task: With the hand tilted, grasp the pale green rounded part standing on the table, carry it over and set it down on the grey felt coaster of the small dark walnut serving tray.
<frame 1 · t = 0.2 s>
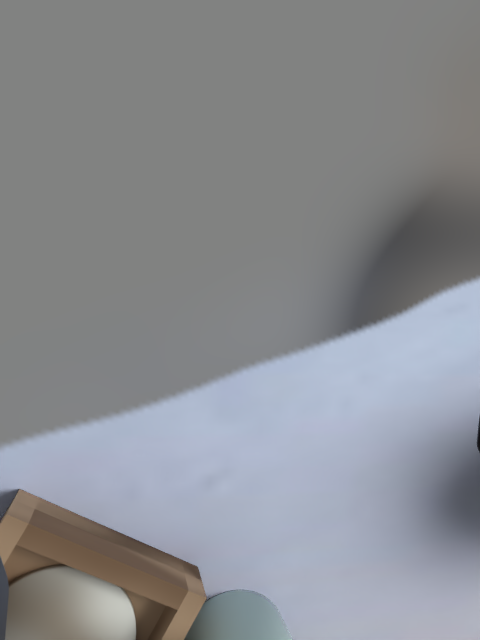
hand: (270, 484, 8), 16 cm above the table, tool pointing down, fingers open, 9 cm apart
tray: (60, 621, 23), on the table
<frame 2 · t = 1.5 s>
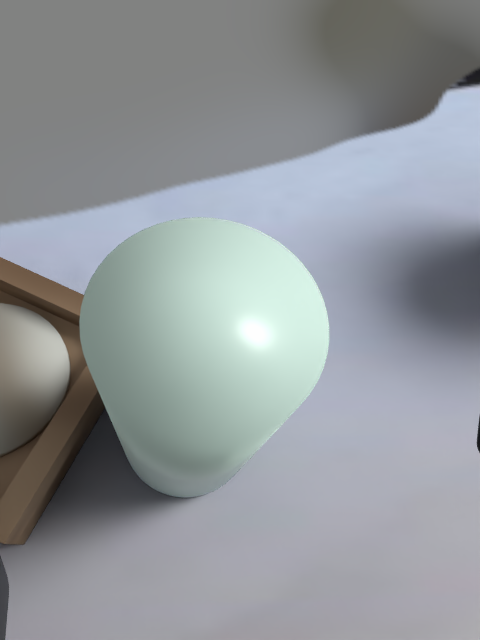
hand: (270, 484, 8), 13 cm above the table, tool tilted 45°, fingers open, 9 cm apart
pale green rounded part: (187, 430, 22), on the table
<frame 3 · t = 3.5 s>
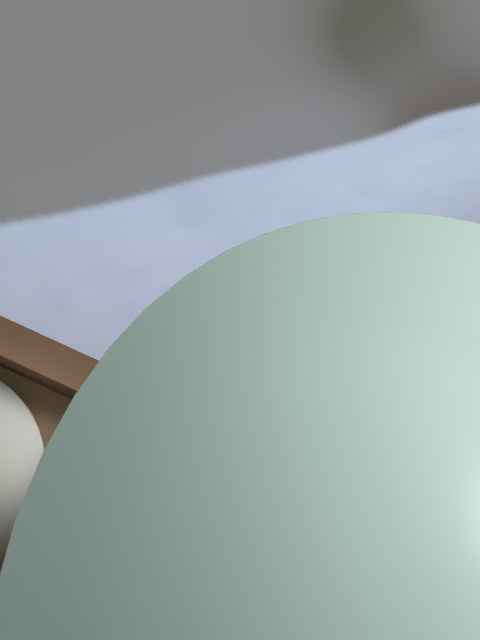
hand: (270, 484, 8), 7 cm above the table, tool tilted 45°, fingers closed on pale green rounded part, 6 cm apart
pale green rounded part: (238, 563, 13), on the table, touching gripper
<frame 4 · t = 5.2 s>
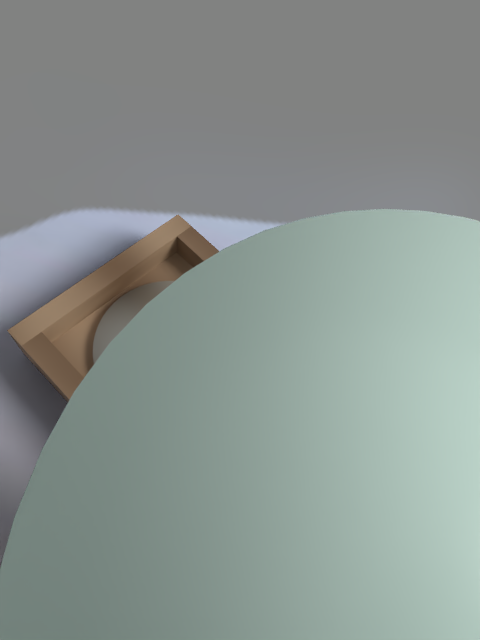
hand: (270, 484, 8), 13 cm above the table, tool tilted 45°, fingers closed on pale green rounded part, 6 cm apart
tray: (171, 358, 23), on the table
pale green rounded part: (238, 562, 13), point 7 cm above the table, touching gripper
when the fingers open (9 cm above the table, at t = 7.4 s): pale green rounded part drops 1 cm, resting on tray.
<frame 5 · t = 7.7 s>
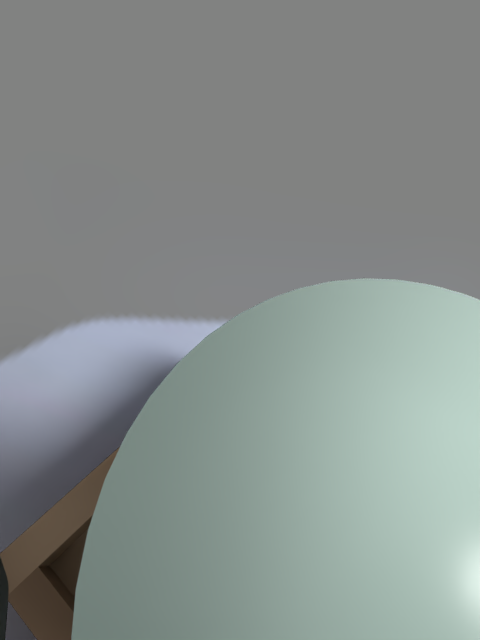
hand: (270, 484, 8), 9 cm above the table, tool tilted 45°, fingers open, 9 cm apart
tray: (228, 560, 16), on the table
pale green rounded part: (235, 563, 14), point 2 cm above the table, touching tray
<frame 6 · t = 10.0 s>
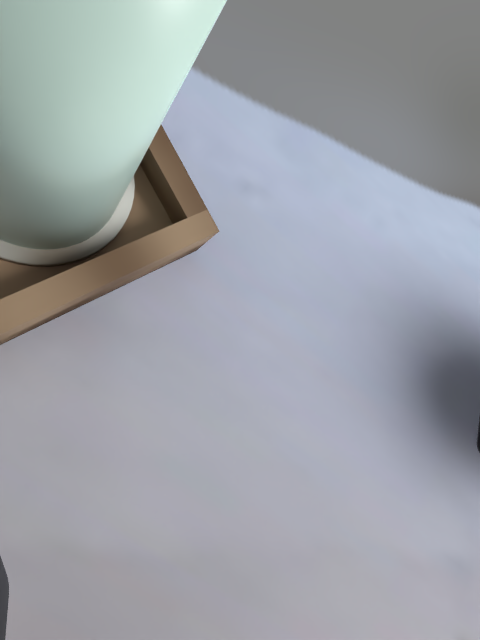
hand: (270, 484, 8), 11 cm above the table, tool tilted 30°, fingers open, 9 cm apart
tray: (35, 187, 18), on the table
pale green rounded part: (38, 171, 17), point 2 cm above the table, touching tray
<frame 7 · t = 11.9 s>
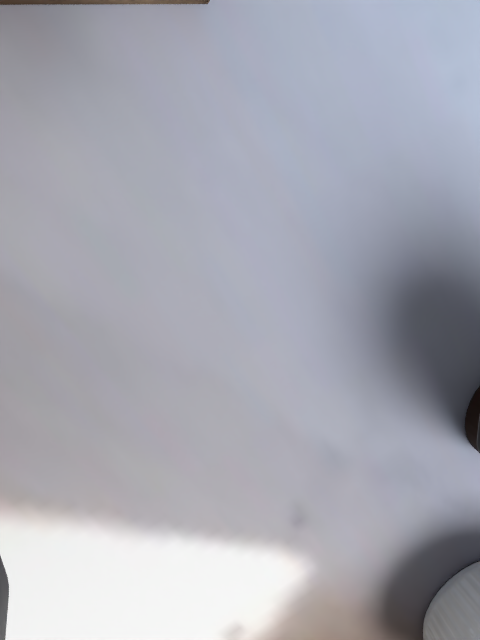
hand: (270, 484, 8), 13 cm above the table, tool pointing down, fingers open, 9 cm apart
ramekin: (470, 602, 34), on the table
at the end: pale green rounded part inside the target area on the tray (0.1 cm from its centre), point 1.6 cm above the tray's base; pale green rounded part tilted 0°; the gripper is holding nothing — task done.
